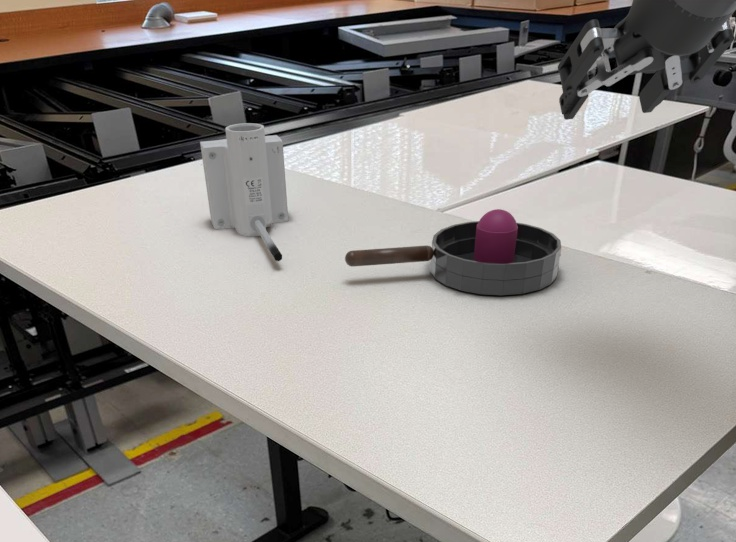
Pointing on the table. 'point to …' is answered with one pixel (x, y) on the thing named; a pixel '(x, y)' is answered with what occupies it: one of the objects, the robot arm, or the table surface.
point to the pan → (525, 275)
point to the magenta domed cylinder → (496, 237)
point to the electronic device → (246, 181)
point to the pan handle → (389, 256)
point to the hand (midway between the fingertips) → (604, 107)
